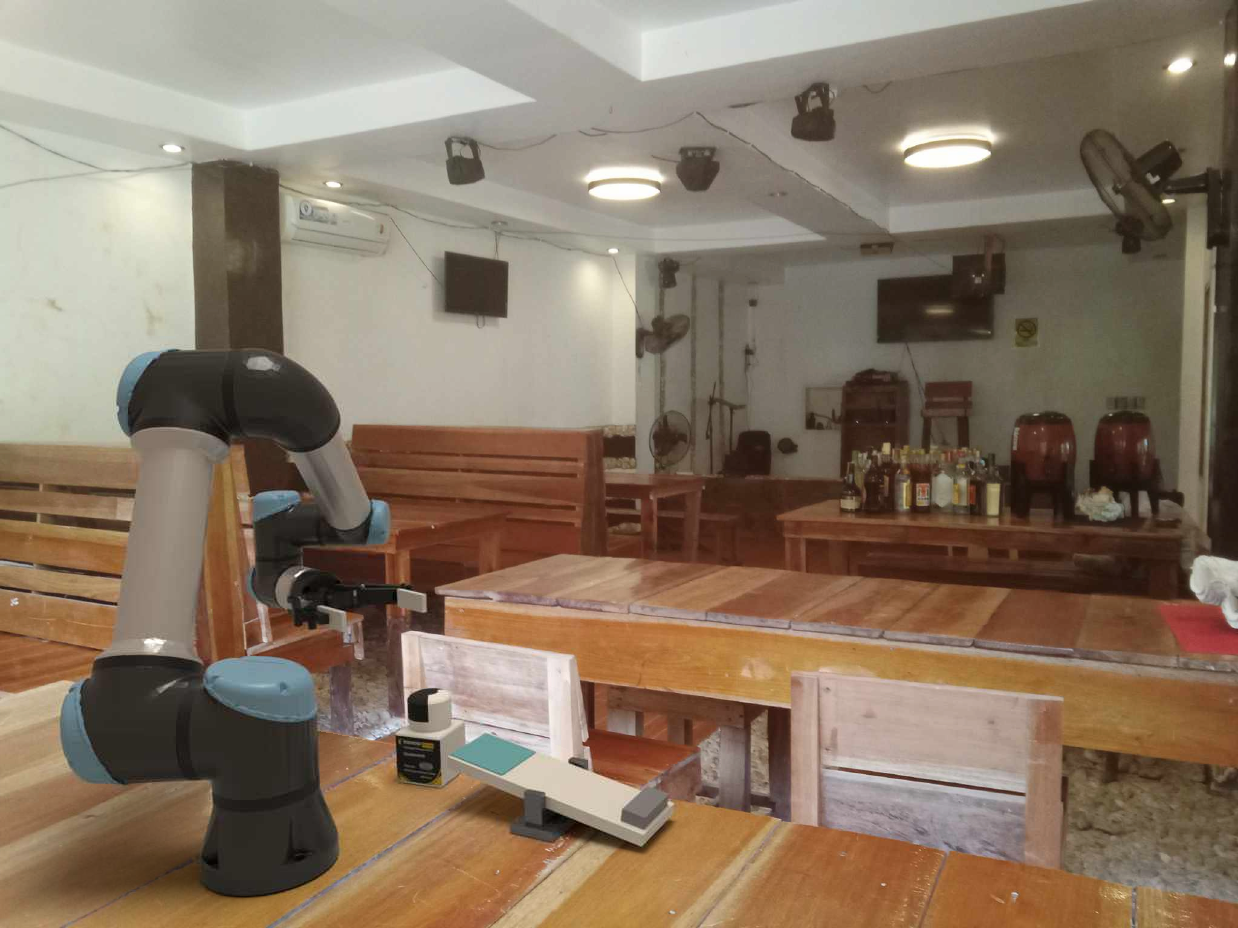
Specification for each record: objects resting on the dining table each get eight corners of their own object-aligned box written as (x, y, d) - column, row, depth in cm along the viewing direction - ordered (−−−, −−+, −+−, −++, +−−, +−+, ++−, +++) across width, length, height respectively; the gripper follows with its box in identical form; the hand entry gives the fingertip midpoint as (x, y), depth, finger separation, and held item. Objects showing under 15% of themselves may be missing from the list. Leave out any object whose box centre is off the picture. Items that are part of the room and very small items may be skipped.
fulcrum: (603, 798, 125) (602, 760, 124) (552, 842, 113) (551, 800, 113) (563, 790, 127) (562, 752, 127) (510, 832, 116) (508, 791, 115)
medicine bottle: (396, 782, 131) (392, 697, 130) (424, 762, 138) (420, 682, 137) (441, 788, 129) (438, 702, 128) (467, 768, 136) (464, 686, 135)
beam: (672, 814, 118) (676, 791, 118) (641, 846, 110) (645, 822, 110) (486, 742, 130) (489, 722, 130) (446, 767, 122) (449, 745, 122)
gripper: (378, 600, 162) (455, 620, 148) (236, 631, 144) (308, 657, 129) (376, 557, 161) (453, 572, 147) (233, 583, 143) (305, 603, 129)
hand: (385, 612), depth 138 cm, fingers open, 13 cm apart
